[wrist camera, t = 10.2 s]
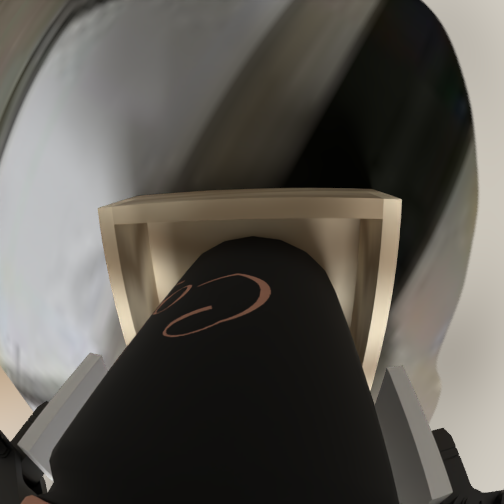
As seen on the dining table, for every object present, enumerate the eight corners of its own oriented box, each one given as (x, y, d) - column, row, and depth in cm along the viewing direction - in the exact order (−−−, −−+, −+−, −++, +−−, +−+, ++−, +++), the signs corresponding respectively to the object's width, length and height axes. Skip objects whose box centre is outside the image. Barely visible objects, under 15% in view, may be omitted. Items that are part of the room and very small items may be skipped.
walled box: (137, 195, 19) (97, 208, 14) (372, 189, 17) (401, 199, 13) (178, 404, 25) (163, 441, 20) (342, 410, 23) (349, 450, 19)
